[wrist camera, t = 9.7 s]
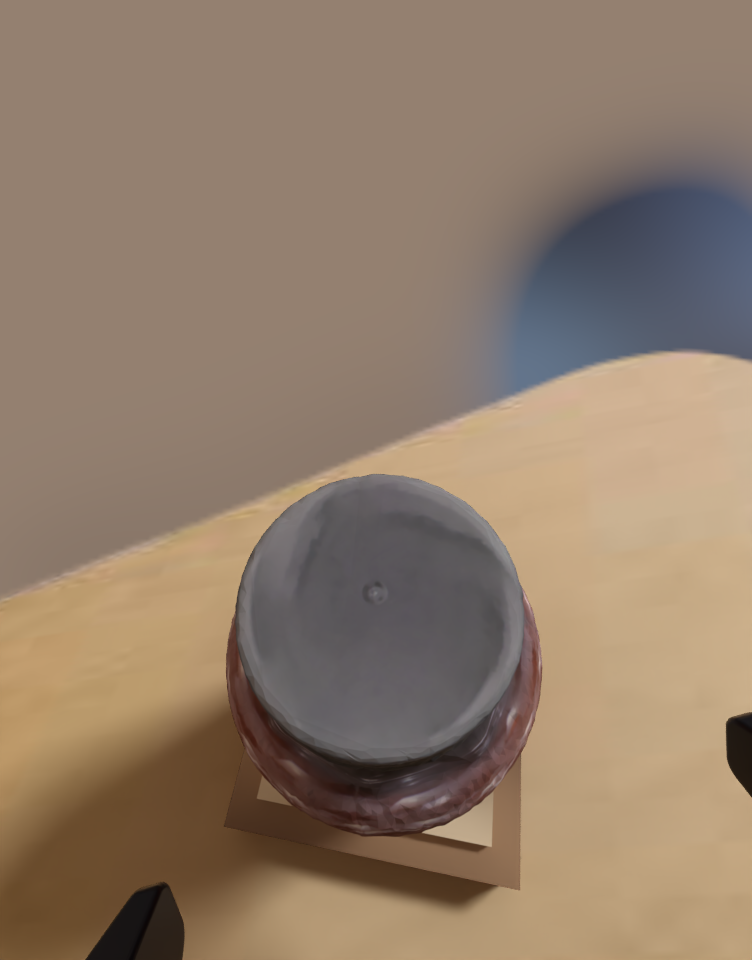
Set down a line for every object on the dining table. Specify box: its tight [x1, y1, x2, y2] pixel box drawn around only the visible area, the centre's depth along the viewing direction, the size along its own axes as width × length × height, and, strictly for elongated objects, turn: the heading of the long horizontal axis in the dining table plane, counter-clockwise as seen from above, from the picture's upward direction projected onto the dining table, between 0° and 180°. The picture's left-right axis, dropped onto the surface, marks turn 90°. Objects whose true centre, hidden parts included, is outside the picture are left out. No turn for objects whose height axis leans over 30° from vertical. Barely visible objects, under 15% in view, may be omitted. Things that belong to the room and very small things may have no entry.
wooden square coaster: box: [224, 749, 521, 890], centre depth 17 cm, size 9×9×2 cm
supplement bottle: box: [226, 474, 542, 837], centre depth 11 cm, size 6×6×11 cm
